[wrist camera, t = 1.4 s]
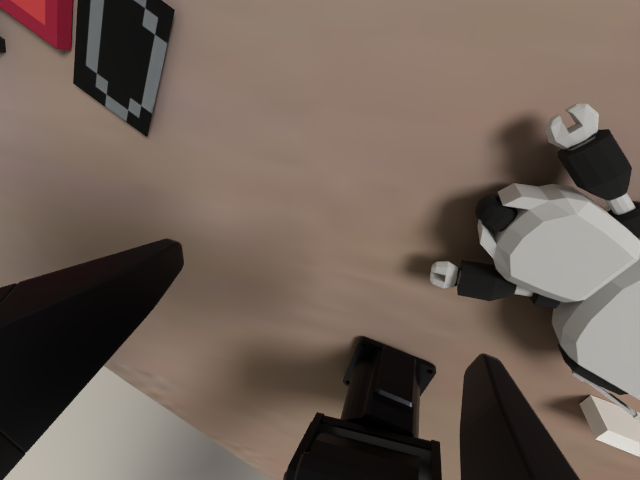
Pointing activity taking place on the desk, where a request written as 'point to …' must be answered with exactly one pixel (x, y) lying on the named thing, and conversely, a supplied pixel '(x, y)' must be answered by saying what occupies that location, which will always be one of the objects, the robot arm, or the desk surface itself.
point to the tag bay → (612, 424)
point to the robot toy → (569, 256)
